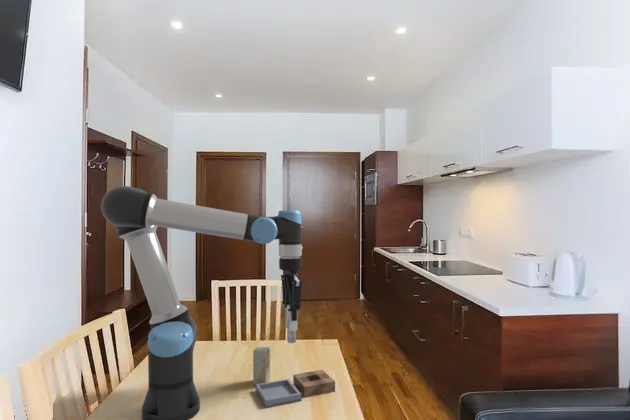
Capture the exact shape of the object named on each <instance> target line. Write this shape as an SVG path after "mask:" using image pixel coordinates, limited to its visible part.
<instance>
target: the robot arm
mask: <svg viewBox="0 0 630 420" xmlns="http://www.w3.org/2000/svg"><path fill="white" fill-rule="evenodd" d="M100 208H101V209H100V210H101V213H102V215H103V218H105V220H106V221H108V223H110V224H112V225H114V227H115V230H116V232H117V235H118V237H119V238H120V239H122V240H125V242H126V243H127V246H128V248H129V249H128V250H129V252H130V255H131V257H132V260H133V263H134V267H135V269H136V273H137V275H138V278H139V280H140V284H141V286H142V290H143V292H144V295H145V297H146V301H147V303H148V304H147V305H148V306H149V309H150V311H151V318H150V320H149V326H150V329H151V330H150V331H149V333H148V337H147V338H148V339H147V356H148V357H147V360H148V361H147V362H148V363H147V364H148V366H147V369H148V376H147V377H148V389H147V391H146V394H145V396H144V397H145V398H144V401H143V404H142V407H141V420H191V419H192V418H193V417H195V416H196V415H198V413H199V412H200V409H201V400H200V399H201V398H200V396H199V393H198V390H197V389H196V388H197V387H196V385H195V383H194V355H193V354H194V349H195V345H196V342H197V337H198V328H197V325H196V322H195V321H194V320H193V318H192V317H191V314H190V312H189V309H188V307H187V306H185V305H183V304H181V301H180V299H179V296H178V293H177V290H176V287H175V284H174V281H173V278H172V275H171V272H170V270H169V267H168V264H167V261H166V258H165V255H164V252H163V250H162V246H161V244H160V240H159V237H158V235H157V229H158V227H161V228H166V229H167V228H168V229H173V230H179V231H186V232H192V233H197V234H198V233H199V234H204V235H212V236H218V237H222V238H223V237H224V238H230V239H236V240H241V241H242V240H243V241H246V242H253V243H254V242H255V243H258V244H260V245H267V244H270V243H271V242H273V241H274V240H278V257H279V258H278V266H279V270H280V271H281V270H282V271H283V274H281V275H280V278H281V291H282V293H281V294H282V297H281V298H282V304H283V305H284V308H285V310H284V311H285V312H284V313H285V314H284V315H285V318H284V319H285V329H287V305H288V304H290V309H288V311H289V331H294V330H296V331H298V329H299V327H298V324H299V323H298V320H299V319H298V310H301V297H302V296H301V295H302V294H301V293H302V292H301V291H302V289H301V288H302V282H303V281H302V279H300V277H299V274H298V270H302V268H303V258H302V257H301V256H303V255H302V253H303V251H302V250H303V249H304V247H303V246H302V245H303V244H302V241H303V240H302V238H303V237H302V234H303V233H302V232H303V231H302V227H303V226H302V225H303V222H302V214H301V211H300V210H298V209H297V210H296V209H294V210H293V209H291V210H290V209H289V210H288V209H287V210H279V211H278V212H277V213H278V214H277V215H275V216H259V215H253V214H248V213H242V212H237V211H230V210H224V209H221V208H220V209H219V208H213V207H209V206H202V205H196V204H191V203H190V204H189V203H185V202H179V201H173V200H168V199H162V198H158V197H157V196H156V194H154V193H148V192H146V191H145V190H143V189H142V188H138V187H133V186H130V185H129V186H127V185H120V186H116V187H113V188H111V189H109V190H108V191H107V192H106V193H105V194H104V196H103V197H102V200H101V202H100Z"/></svg>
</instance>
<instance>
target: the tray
mask: <svg viewBox="0 0 630 420" xmlns="http://www.w3.org/2000/svg"><path fill="white" fill-rule="evenodd" d="M255 392H256V394H257V395H258V397H259V399H260V400H261V402H262V404H263V406H264V407H265V408H271V407H276V406H282V405H286V404H291V403H296V402H301V401H302V394H301V392H300V391H299V390H298V389H297V388H296V386H295V385H294V384H293V382H292V381H291V380H290V379H289V378H286V379H279V380H273V381H269V382H267V383H261V384H256V385H255Z"/></svg>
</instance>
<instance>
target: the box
mask: <svg viewBox="0 0 630 420" xmlns="http://www.w3.org/2000/svg"><path fill="white" fill-rule="evenodd" d="M252 354H253V355H252V360H253V361H252V362H253V363H252V365H253V366H252V368H253V369H252V371H253V373H252V375H253V378H252V379H253V381H252V382H253V383H252V384H253V386H256V384H261V383H267V382H271V346H265V345H264V346H263V345H259V346H256V348H254V349H253V352H252Z"/></svg>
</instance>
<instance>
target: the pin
mask: <svg viewBox="0 0 630 420" xmlns="http://www.w3.org/2000/svg"><path fill="white" fill-rule="evenodd" d="M288 309H290V304H288V305H287V328H286V329H287V330H286V333H287V334H286V335H287V336H286V337H287V341H286V342H287V343H288V344H293V343H294V344H295V343H297V330H294V331H289V311H288Z"/></svg>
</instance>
